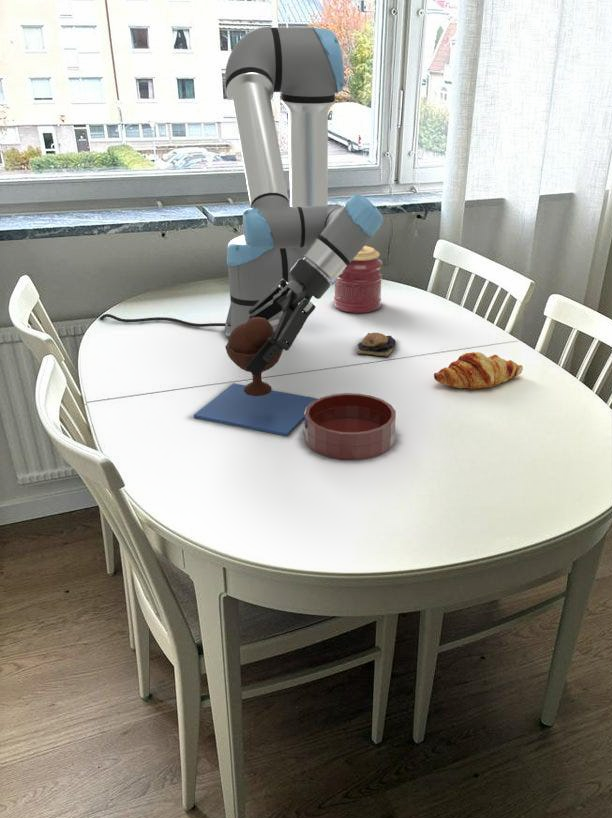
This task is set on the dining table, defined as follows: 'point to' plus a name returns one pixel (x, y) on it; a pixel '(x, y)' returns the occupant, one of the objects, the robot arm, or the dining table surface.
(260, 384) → the ice cream bowl
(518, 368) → the croissant
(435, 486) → the dining table surface
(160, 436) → the dining table surface
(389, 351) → the open sandwich
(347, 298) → the kitchen canister
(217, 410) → the cloth
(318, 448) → the pot
